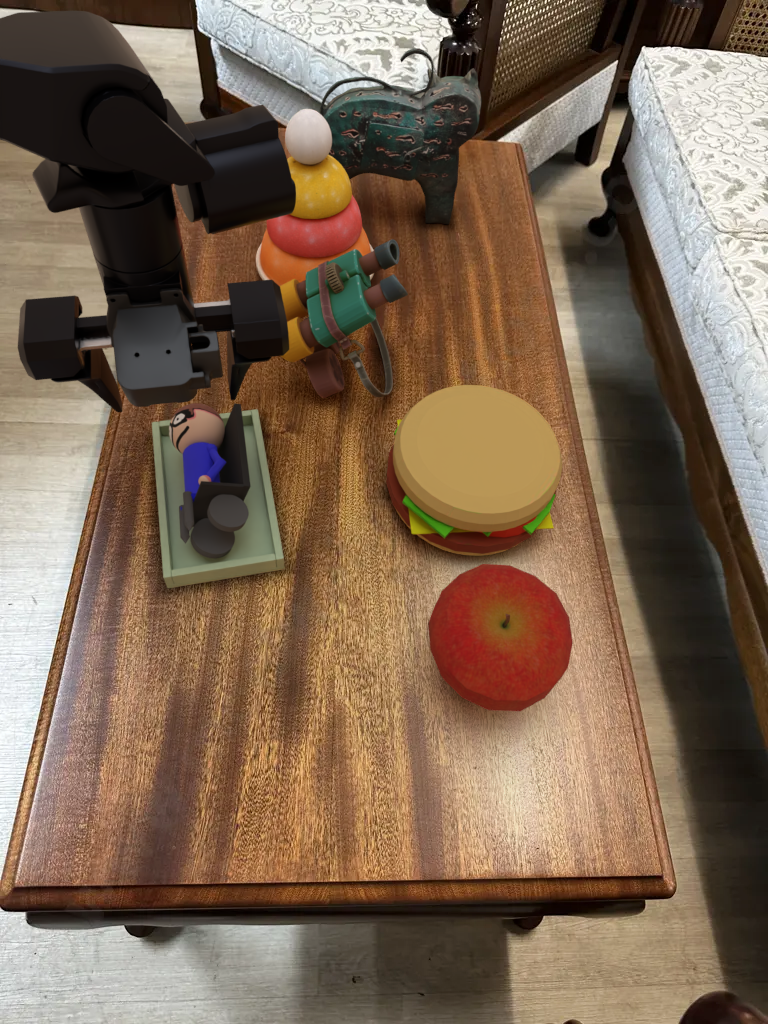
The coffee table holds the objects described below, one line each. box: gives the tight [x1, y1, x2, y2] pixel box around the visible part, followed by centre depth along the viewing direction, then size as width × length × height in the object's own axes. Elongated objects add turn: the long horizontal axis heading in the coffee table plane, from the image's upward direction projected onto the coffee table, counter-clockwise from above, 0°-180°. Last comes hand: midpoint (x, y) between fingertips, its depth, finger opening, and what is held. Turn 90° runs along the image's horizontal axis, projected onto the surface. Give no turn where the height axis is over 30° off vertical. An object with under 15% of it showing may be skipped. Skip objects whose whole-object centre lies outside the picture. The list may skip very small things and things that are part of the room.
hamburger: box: [385, 384, 563, 557], centre depth 68 cm, size 16×16×8 cm
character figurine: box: [169, 402, 251, 559], centre depth 65 cm, size 8×7×15 cm
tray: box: [151, 408, 286, 589], centre depth 68 cm, size 10×17×2 cm, turn 13°
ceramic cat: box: [318, 47, 482, 225], centre depth 86 cm, size 20×6×20 cm, turn 89°
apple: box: [427, 563, 574, 712], centre depth 56 cm, size 11×11×12 cm
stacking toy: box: [255, 108, 375, 286], centre depth 79 cm, size 14×14×20 cm
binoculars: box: [280, 238, 409, 399], centre depth 73 cm, size 14×14×15 cm
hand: (177, 402), depth 60 cm, fingers open, 9 cm apart
